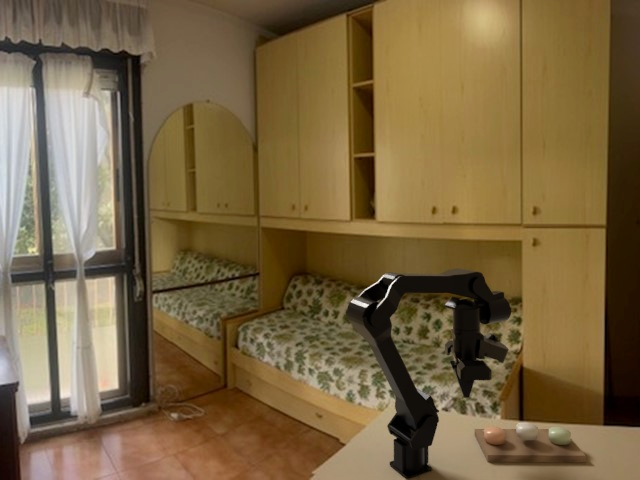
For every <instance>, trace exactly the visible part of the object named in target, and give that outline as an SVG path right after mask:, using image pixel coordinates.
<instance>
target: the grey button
mask: <svg viewBox="0 0 640 480" xmlns="http://www.w3.org/2000/svg"><path fill="white" fill-rule="evenodd" d="M515 425H516V428H515V429H516V435H517V436H518V437H519V438H521V439H524V440H535V439H537V438H538V429H539V427H538V426H537V425H536V424H534V423H531V422H519V423H517V424H515Z"/></svg>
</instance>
